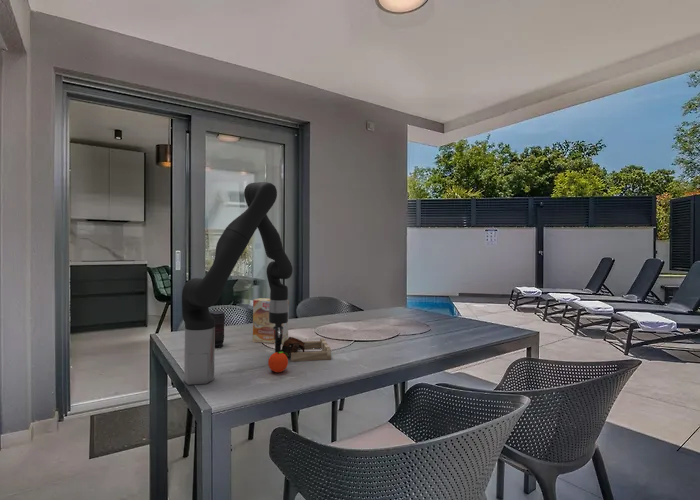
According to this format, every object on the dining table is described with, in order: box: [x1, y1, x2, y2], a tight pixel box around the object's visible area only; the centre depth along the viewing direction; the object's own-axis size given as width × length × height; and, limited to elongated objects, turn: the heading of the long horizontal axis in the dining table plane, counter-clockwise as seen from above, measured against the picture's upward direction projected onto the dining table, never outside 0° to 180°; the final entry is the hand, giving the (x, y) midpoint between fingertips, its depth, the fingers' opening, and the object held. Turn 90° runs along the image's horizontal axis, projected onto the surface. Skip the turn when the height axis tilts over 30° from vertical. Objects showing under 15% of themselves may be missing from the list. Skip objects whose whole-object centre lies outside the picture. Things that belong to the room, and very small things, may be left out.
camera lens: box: [209, 310, 226, 349], centre depth 169 cm, size 8×8×15 cm
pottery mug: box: [281, 336, 306, 358], centre depth 157 cm, size 12×10×8 cm
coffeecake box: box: [252, 297, 290, 345], centre depth 179 cm, size 15×7×20 cm, turn 76°
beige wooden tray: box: [290, 338, 332, 362], centre depth 159 cm, size 18×16×4 cm
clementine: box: [267, 351, 289, 373], centre depth 137 cm, size 8×7×7 cm
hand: (277, 353), depth 157 cm, fingers closed
